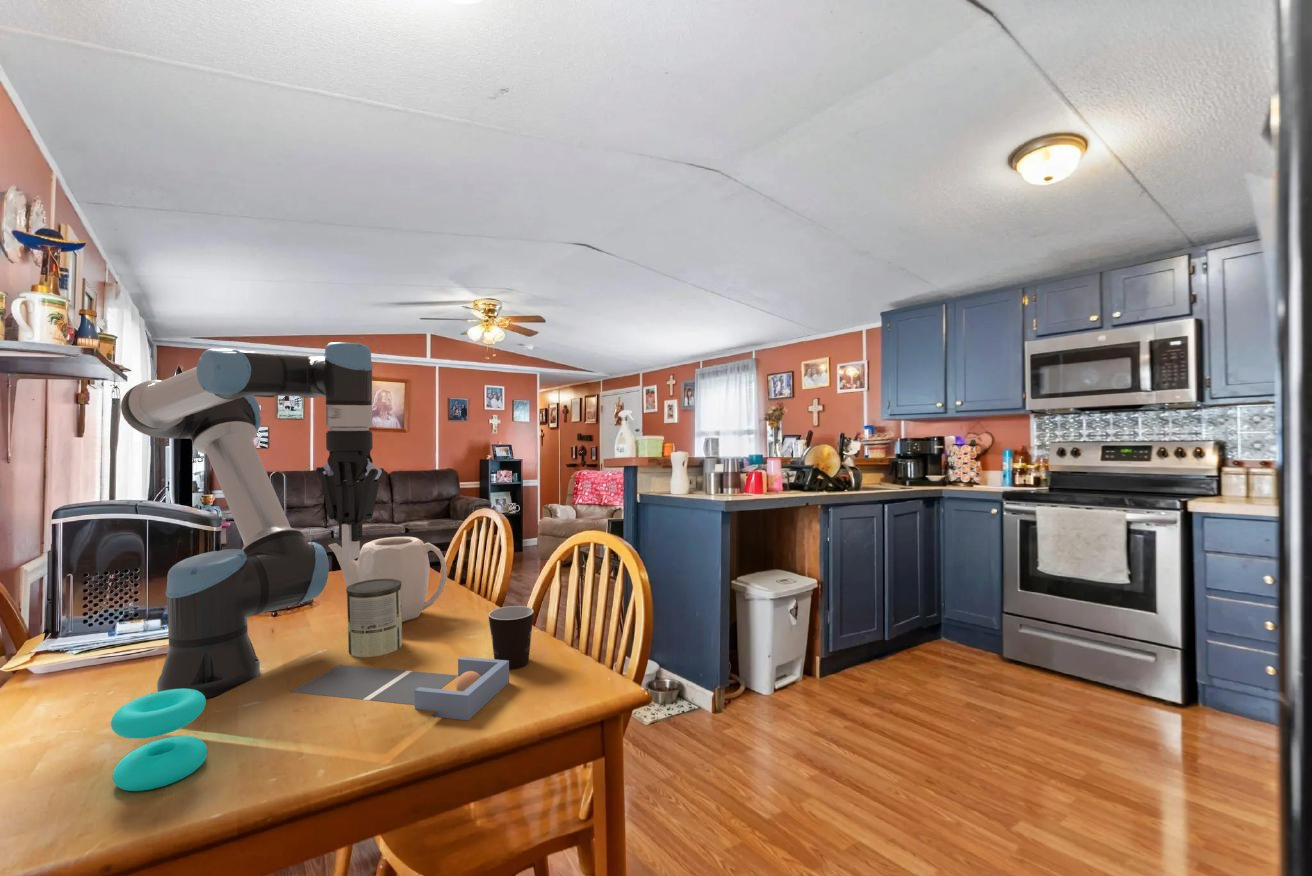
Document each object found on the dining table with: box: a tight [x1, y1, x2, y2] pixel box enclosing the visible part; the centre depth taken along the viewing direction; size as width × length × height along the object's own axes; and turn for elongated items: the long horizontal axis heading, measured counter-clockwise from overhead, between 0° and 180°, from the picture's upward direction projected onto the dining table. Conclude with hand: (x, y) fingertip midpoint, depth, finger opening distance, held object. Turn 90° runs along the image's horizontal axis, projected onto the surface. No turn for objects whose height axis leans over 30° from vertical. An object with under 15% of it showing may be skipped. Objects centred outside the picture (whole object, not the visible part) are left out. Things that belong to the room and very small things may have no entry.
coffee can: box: [345, 579, 403, 658], centre depth 126 cm, size 10×10×14 cm
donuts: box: [110, 689, 208, 792], centre depth 83 cm, size 10×10×10 cm
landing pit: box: [414, 656, 510, 721], centre depth 105 cm, size 10×14×4 cm, turn 167°
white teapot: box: [327, 536, 448, 623], centre depth 148 cm, size 16×27×19 cm, turn 101°
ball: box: [455, 671, 481, 691], centre depth 105 cm, size 4×4×4 cm
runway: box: [290, 664, 459, 706], centre depth 109 cm, size 25×12×1 cm, turn 77°
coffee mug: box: [487, 605, 535, 671], centre depth 122 cm, size 12×9×10 cm
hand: (351, 558), depth 112 cm, fingers closed
